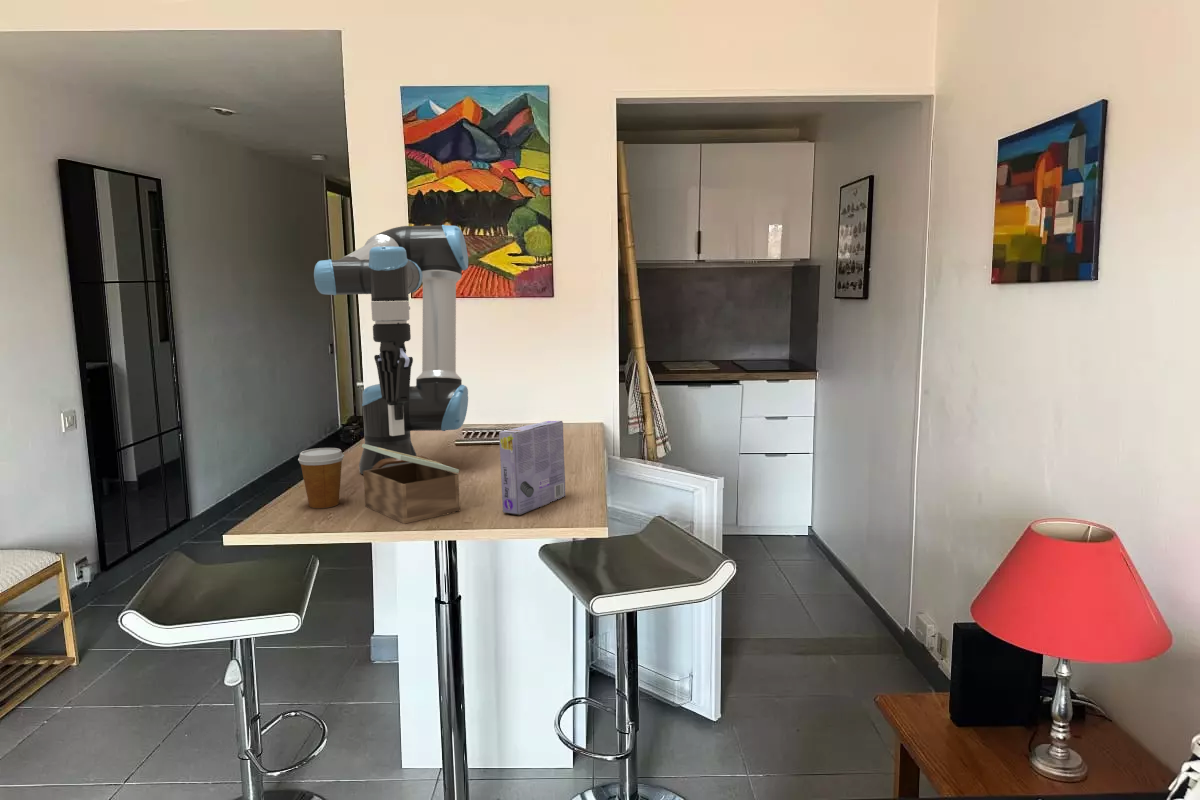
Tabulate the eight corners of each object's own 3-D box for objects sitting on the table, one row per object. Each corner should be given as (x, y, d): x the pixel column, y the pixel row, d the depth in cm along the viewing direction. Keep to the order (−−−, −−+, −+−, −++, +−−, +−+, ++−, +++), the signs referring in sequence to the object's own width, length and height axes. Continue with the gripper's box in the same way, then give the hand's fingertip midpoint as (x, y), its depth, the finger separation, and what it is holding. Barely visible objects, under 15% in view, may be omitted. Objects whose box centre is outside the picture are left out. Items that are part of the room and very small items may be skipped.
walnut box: (365, 506, 173) (363, 470, 172) (418, 495, 182) (417, 461, 181) (403, 523, 160) (401, 485, 159) (459, 511, 168) (458, 474, 167)
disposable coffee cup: (311, 499, 180) (307, 447, 179) (352, 498, 180) (349, 447, 178) (294, 510, 171) (290, 456, 169) (337, 510, 171) (334, 455, 169)
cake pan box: (551, 493, 182) (549, 417, 180) (569, 495, 180) (568, 419, 177) (499, 514, 166) (497, 431, 163) (519, 517, 163) (516, 433, 161)
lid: (361, 447, 171) (362, 442, 172) (417, 460, 181) (418, 456, 181) (400, 459, 158) (401, 454, 158) (458, 473, 167) (459, 468, 167)
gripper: (423, 322, 161) (428, 436, 164) (393, 321, 171) (399, 429, 174) (388, 323, 156) (394, 441, 159) (360, 322, 166) (366, 433, 169)
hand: (397, 434), depth 167 cm, fingers closed
